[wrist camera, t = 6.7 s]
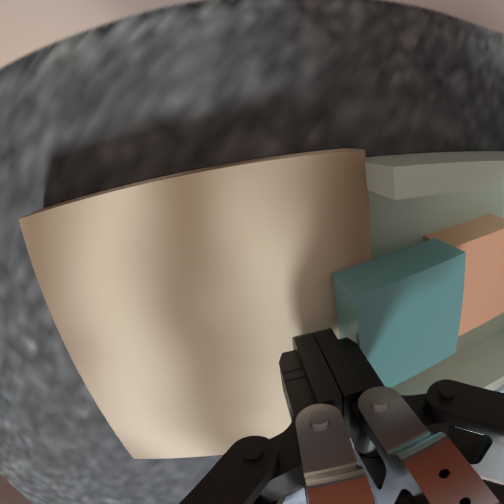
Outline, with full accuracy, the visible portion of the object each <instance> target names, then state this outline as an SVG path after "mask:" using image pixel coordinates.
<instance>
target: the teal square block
mask: <svg viewBox="0 0 504 504" xmlns="http://www.w3.org/2000/svg"><path fill="white" fill-rule="evenodd" d="M465 261H466V252H465V251H462V250H460V249H458V248H456V247H454V246H452V245H450V244H447V243H445V242H443V241H441V240H439V239H436V238H432V239H429V240H427V241H424V242H421V243H418V244H416V245H413V246H410V247H407V248H404V249H402V250H399V251H396V252H393V253H390V254H388V255H385V256H382V257H379V258H376V259H373V260H371V261H367V262H364V263H361V264H359V265H356V266H353V267H350V268H347V269H344V270H341V271H338V272H335V273H332V281H333V288H334V295H335V303H336V311H337V319H338V327H339V336H340V339H342V338H345V337H347V338H349V339H351V340H352V341H354V342H356V343H357V344H358V346H359V347H360V349H361V350H362V352H363V354H364V355H365V356H366V358H367V361H369V363H370V364H371V366H372V367H373V369H374V370H375V372H376V373H377V375H378V376H379V378H380V380H381V381H382V383H383V384H384V386H385V387H389V388H391V387H393V386H395V385H397V384H399V383H401V382H403V381H405V380H407V379H409V378H411V377H413V376H415V375H417V374H419V373H421V372H423V371H424V370H426V369H428V368H430V367H432V366H434V365H435V364H437V363H439V362H441V361H442V360H444V359H446V358H448V357H449V356H451V355H453V354H454V353H455V352H456V346H457V340H458V334H459V327H460V319H461V311H462V302H463V292H464V279H465Z"/></svg>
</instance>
